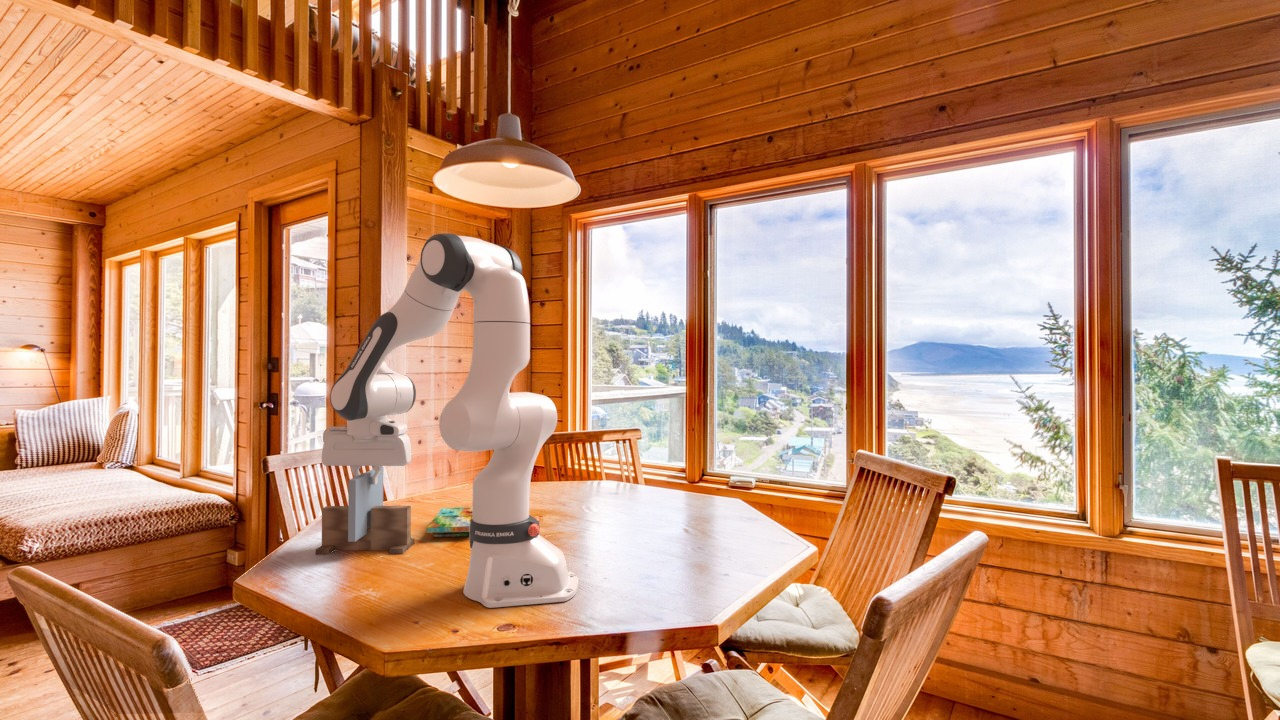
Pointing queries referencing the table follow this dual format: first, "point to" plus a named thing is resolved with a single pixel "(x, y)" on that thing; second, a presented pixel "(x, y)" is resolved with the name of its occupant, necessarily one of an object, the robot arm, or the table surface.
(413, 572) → the table surface
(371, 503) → the grey notched slab
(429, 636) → the table surface
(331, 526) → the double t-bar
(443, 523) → the puzzle game
